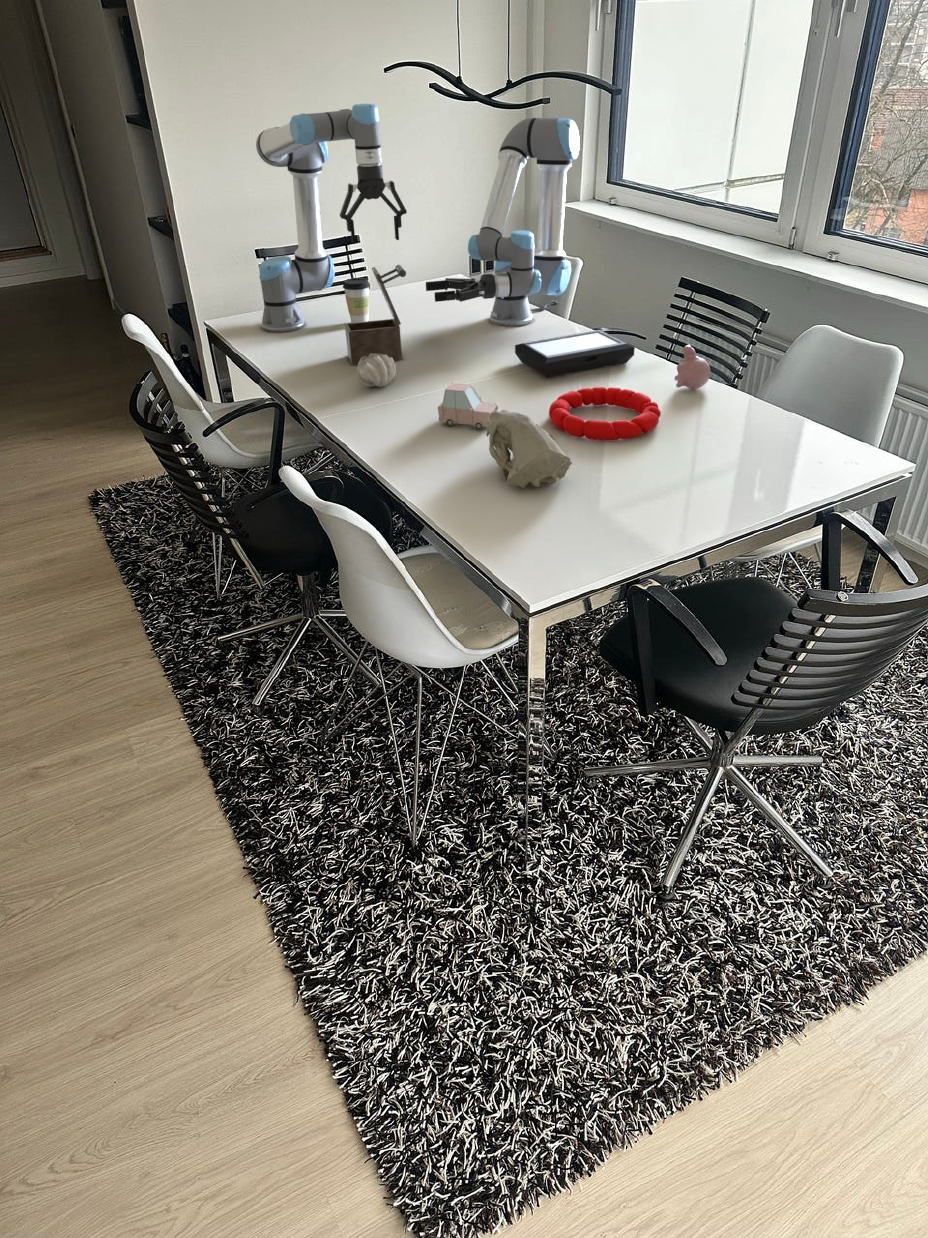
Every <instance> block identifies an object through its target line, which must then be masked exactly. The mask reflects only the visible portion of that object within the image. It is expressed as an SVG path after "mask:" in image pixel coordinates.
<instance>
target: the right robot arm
mask: <svg viewBox="0 0 928 1238" xmlns="http://www.w3.org/2000/svg"><path fill="white" fill-rule="evenodd" d="M580 145H581V144H580V132H579V129H578V126H577V124H576V121H574V120H573V119H571V118H565V117H527V118H524V119H522V120H520V121H519V122H517V124H515V125H514V126H513V127H512V128H511V129H510V130H509V132H508V133H507V134H506V135H505V137H504V139H503V141H502V143H501V145H500V148H499V151H498V153H497V159H498V161H499V162H498V166H497V169H496V173H495V176H494V180H493V184H492V187H491V190H490V194H489V198H488V201H487V205H486V207H485V211H484V216H483V219H482V222H481V226H480V229H479V233H478V234H472V235H471V236H470V237H469V238H468V242H467V252H468V255H469V257H470V258H471V259H472V260H478V261H482V262H483V261H489V262H491V261H492V262H494V270H493V271H494V273H484V274H481V275H480V277H479V280H476V278H474V277H472V278H471V277H470V278H459V277H458V278H455V277H446V278H445V279H443V280H432V281H425V291H426V292H432V291H435V292H434V302H435V303H436V302H446V301H447V302H449V301H459V302H460V303H461V302H465V301H469V300H472V299H473V300H474V299H476V298H482V299H484V300H489V299H494V302H493V306H492V310H491V311H490V316H489V317H490V319H489V321H490V323H492V324H493V325H496V326H501V327H520V326H525V325H528V324H530V323H531V322H532V321H533V313H532V312H540V311H545V310H546V308H547V307H548V306H550V305H552V304H555V305H558V304H559V303H558V301H556V300H550V301H548V302H547V303H545V304H544V305H543V307H538V308H531V306H530V303H529V299H528V296H529V295H544V296H545V295H547V296H549V297H550V296H560V295H562V294H563V293H564V292H565V291H566V289H567V287H568V285H569V281H570V278H571V273H572V266H571V265H572V264H571V261H569V260H568V259H566V258H567V257H566V256H567V254H566V252H565V251H564V250H563V236H564V222H565V221H564V220H565V206H566V205H565V203H566V189H567V188H566V187H567V172H568V170H570V168H571V167H572V165H573V161H575V160H576V159H577V158H578V156H579V151H580ZM530 158H531V159H536V166H537V167H538V169H539V171H540V177H539V196H538V197H539V198H538V199H539V200H538V218H537V219H538V220H537V237H536V247H535V236H534V233H533V232H531V231H530V230H515V231H512V232H511V234H510V237H509V236H503V233H504V230H505V227H506V224H507V220H508V216H509V213H510V210H511V206H512V203H513V199H514V196H515V192H516V188H517V185H518V182H519V180H520V179H519V178H520V175H521V171H522V169H523V168H525V167H526V166H527V162H528V160H529V159H530ZM449 289H452V290H449ZM442 290H443V291H442ZM436 291H437V292H436Z"/></svg>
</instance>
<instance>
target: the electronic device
mask: <svg viewBox="0 0 928 1238" xmlns="http://www.w3.org/2000/svg"><path fill="white" fill-rule="evenodd" d="M635 349H636V347H635V346H633V345H632V344H630V343H628V342H625V341H623V340H621V339H619V338H618V337H615V335H611V333H610V334H609V333H608V332H605V330H602V329H597V330H596V329H595V330H590V331H585V332H580V333H574V334H568V335H567V334H566V335H562V336H556V337H551V338H550V337H549V338H546V339H539V340H533V341H528V342H527V341H526V342H521V343H518V344H515V345H514V354H515V355H516V357H517V358H518V360H519V361H520V362H521V363H522V364H524V365H525V366H527V367H528V368H530V369H532V370H533V371H535V372H537V373H538V374H540V375H541V376H543V377H545V378H546V379H548V378H553V377H558V376H559V377H560V376H563V375H569V374H574V373H575V374H576V373H581V372H585V371H592V370H596V369H602V368H607V367H613V366H619V365H624V364H627V363H628V362H629V361H630V360H631V359H632V358H633V357H634V356H635Z"/></svg>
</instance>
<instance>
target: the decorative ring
mask: <svg viewBox="0 0 928 1238" xmlns="http://www.w3.org/2000/svg"><path fill="white" fill-rule="evenodd" d="M583 405H584V406H586V407H587V406H591V405H593V406H604V405H608V406H614V407H619V408H624V409H628V410H632V411H635V412H636V413H638V414H639V415H637V416H635V417H632V418H631V419H630V420H625V419H624V420H623V419H622V420H614V421H611V422H609V421H607V420H606V421H605V420H593V419H587V420H586V421H585V419H584V418H582V417H579V416H577V415H573V414H571V413H570V410H571V409H579V408H581V407H582V406H583ZM548 416H549V419H550V422H551V423H552V425H553V426H554V427H555V428H556V429H558V430H559V431H561V432H563V433H567V434H568V435H569V436H573V437H576V438H580V439H582V438H583V437H585V438H586V439H587V440H591V441H601V442H602V441H603V442H608V441H609V442H610V441H611V442H612V441H615V442H616V441H618V440H630V439H634V438H638V437H641V436H642V434H647V433H650V432H651V431H653V430H654V429H655V428H656V427H657V426H658V424H659V422H660V421H659V420H660V417H661V410H660V408H659V405H658V403H657V402H656V401H652V399H651V397H649V396H648V395H646V394H644V393H642V392H635V391H634V390H632V389H628V388H624V389H622V388H620V387H613V386H612V387H611V386H610V387H608V388H606V387H604V386H594V387H585V388H584V387H583V388H580V389H578V390H571V391H568V392H565V393H563V394H561V395H560V396H558V397H557V398H556V400H554V401H552V403H551V404H550V407H549V409H548Z"/></svg>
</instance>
